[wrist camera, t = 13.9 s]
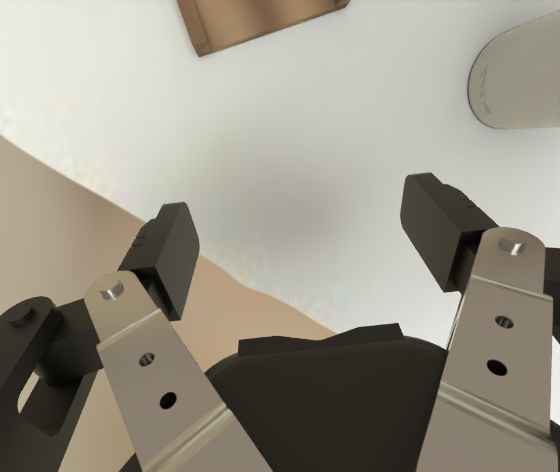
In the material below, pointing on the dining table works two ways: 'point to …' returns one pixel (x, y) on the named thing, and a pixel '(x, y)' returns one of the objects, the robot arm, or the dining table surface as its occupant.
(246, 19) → the tray
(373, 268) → the dining table surface
